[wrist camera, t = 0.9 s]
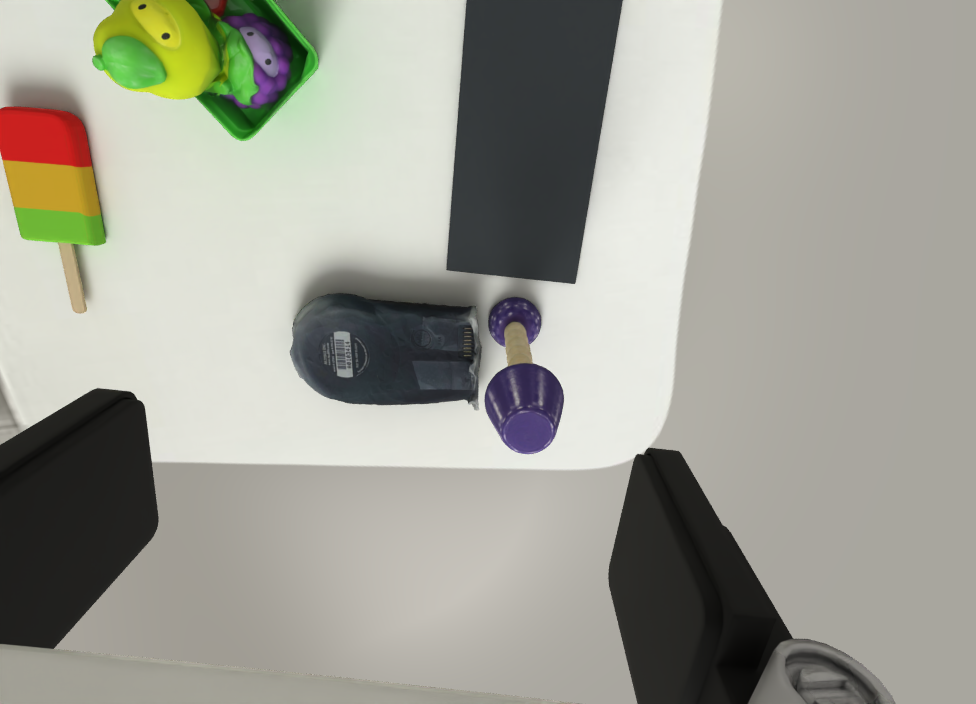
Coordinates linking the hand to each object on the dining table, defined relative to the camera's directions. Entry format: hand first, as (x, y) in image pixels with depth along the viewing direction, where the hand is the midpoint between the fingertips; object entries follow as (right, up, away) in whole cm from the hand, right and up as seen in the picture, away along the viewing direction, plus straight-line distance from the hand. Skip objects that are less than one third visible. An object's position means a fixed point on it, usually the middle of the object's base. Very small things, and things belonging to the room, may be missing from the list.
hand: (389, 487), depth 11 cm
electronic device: (-6, +3, +35) cm, 36 cm away
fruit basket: (-15, +24, +27) cm, 39 cm away
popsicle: (-30, +13, +32) cm, 46 cm away
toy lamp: (+4, +5, +34) cm, 35 cm away
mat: (+5, +18, +29) cm, 34 cm away
